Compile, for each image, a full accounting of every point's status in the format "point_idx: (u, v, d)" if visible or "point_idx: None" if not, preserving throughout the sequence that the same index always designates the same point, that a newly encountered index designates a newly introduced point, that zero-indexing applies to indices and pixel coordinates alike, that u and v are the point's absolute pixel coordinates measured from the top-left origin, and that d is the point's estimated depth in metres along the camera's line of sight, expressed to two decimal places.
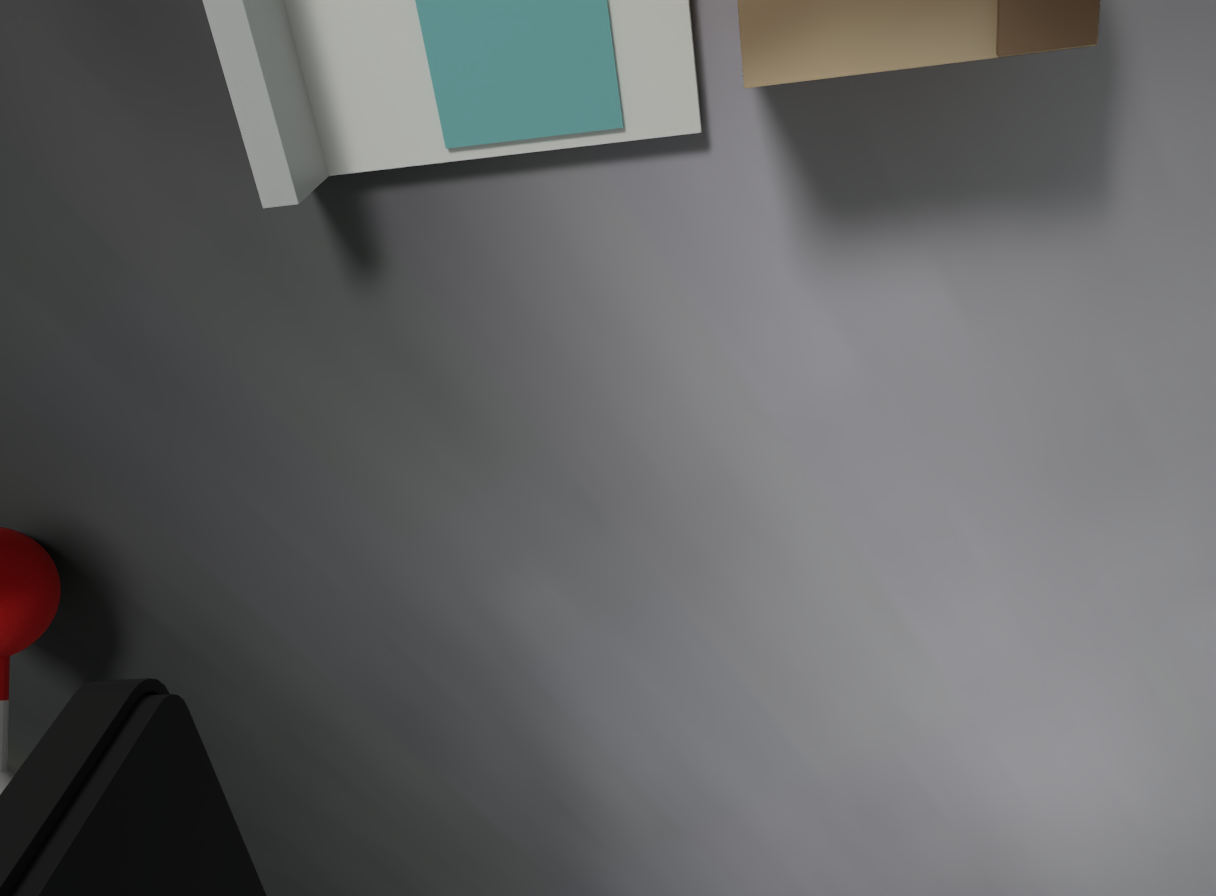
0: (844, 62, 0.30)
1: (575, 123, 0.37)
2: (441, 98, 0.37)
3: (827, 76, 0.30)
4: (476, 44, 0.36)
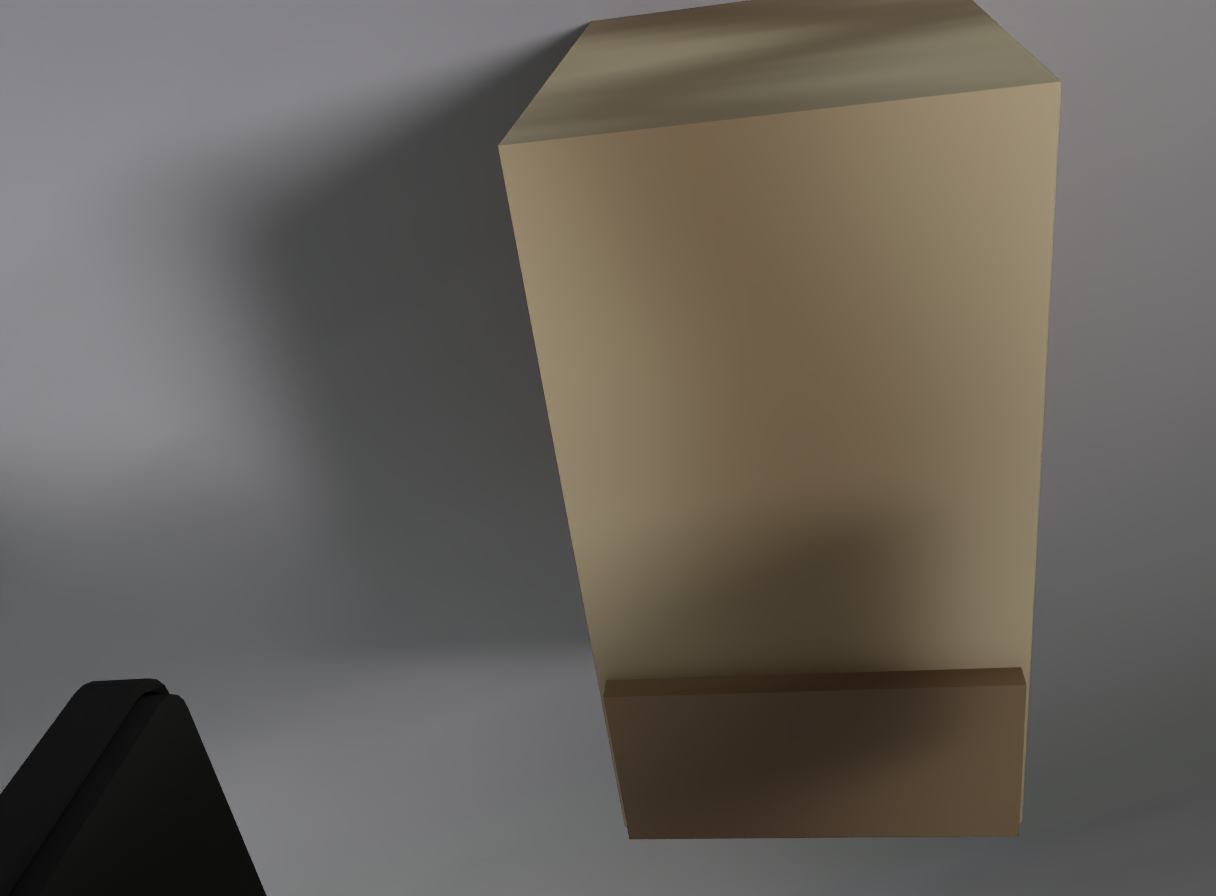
0: (578, 395, 0.12)
1: None
2: None
3: (542, 357, 0.12)
4: None
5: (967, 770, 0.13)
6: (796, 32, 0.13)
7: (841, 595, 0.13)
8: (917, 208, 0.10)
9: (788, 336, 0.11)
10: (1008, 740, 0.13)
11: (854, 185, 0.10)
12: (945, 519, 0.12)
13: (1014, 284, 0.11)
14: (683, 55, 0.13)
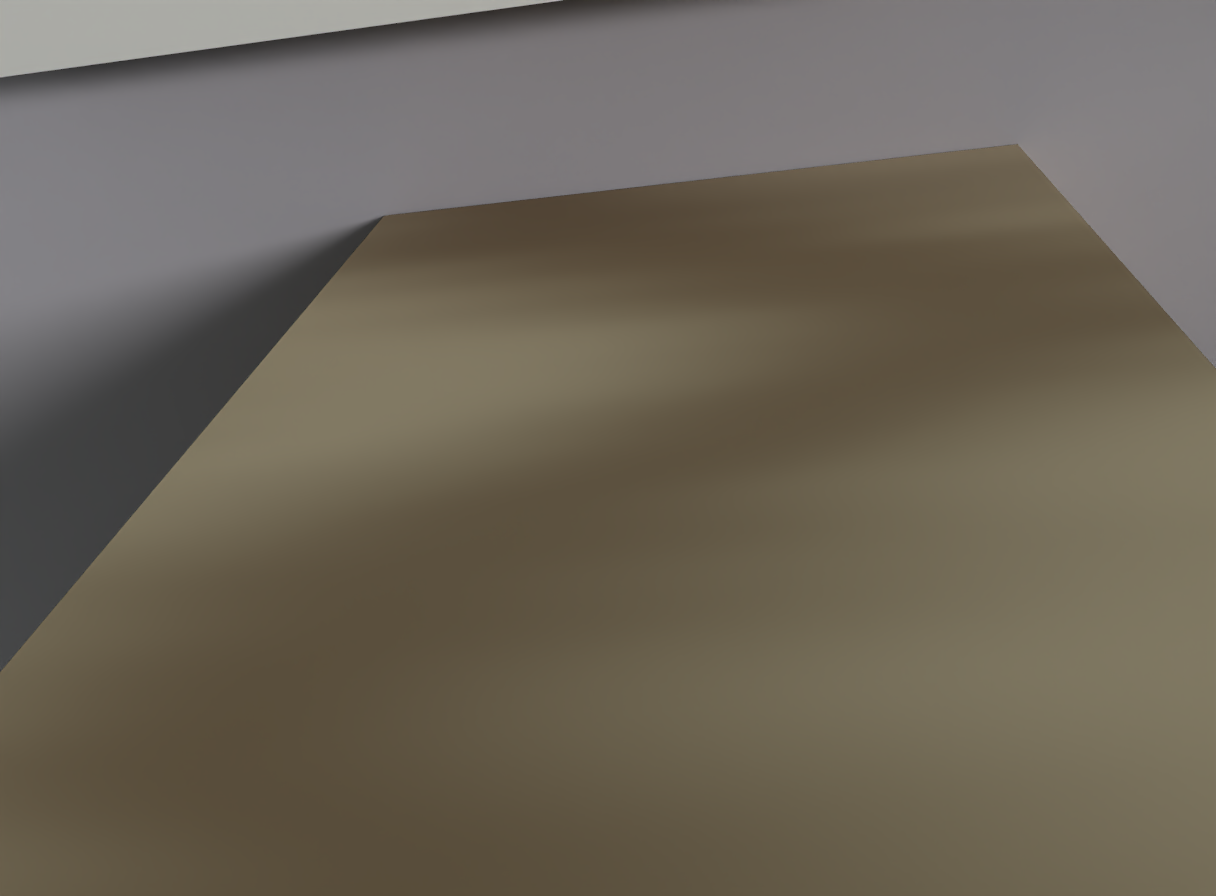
0: None
1: None
2: None
3: None
4: None
5: None
6: (740, 334, 0.06)
7: None
8: None
9: None
10: None
11: None
12: None
13: None
14: (485, 403, 0.06)
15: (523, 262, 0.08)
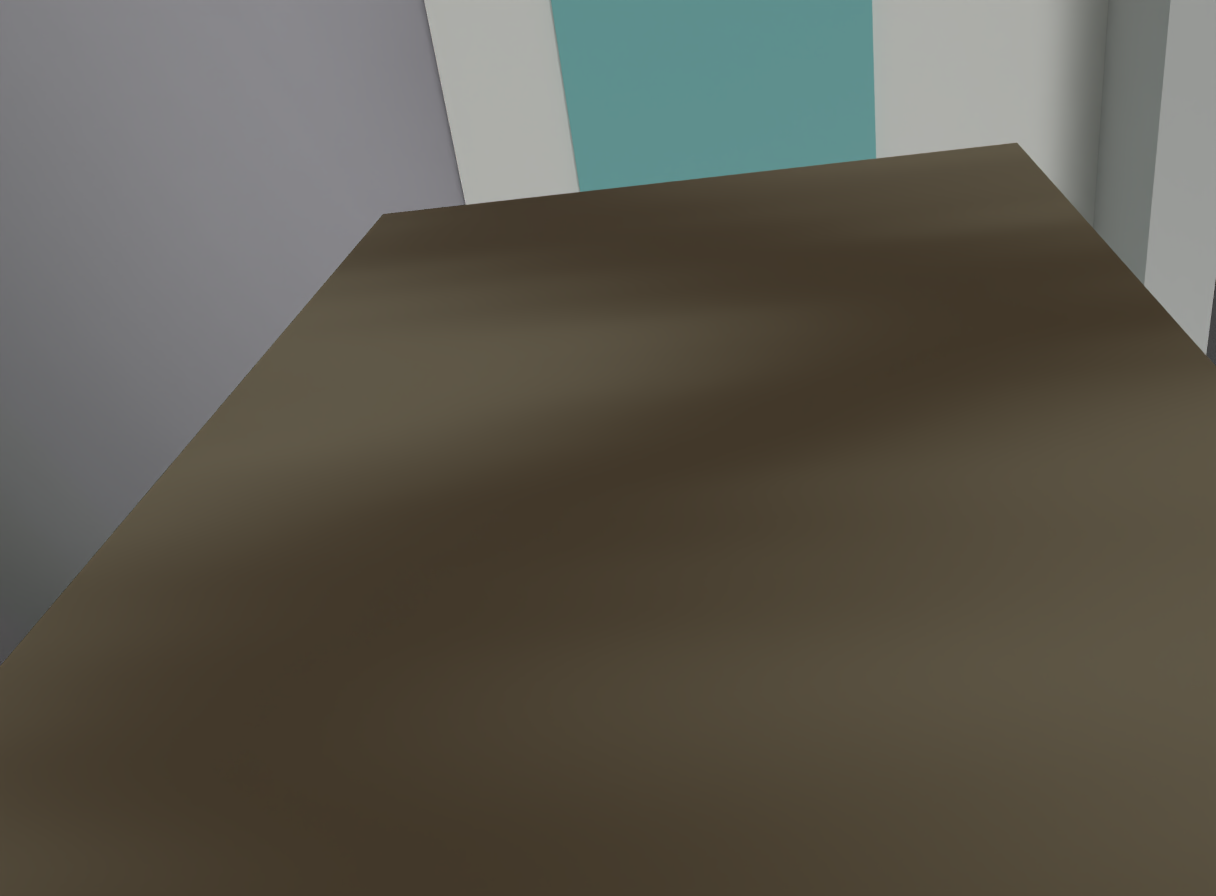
0: None
1: None
2: None
3: None
4: (785, 85, 0.22)
5: None
6: (740, 331, 0.06)
7: None
8: None
9: None
10: None
11: None
12: None
13: None
14: (485, 400, 0.06)
15: (522, 260, 0.08)
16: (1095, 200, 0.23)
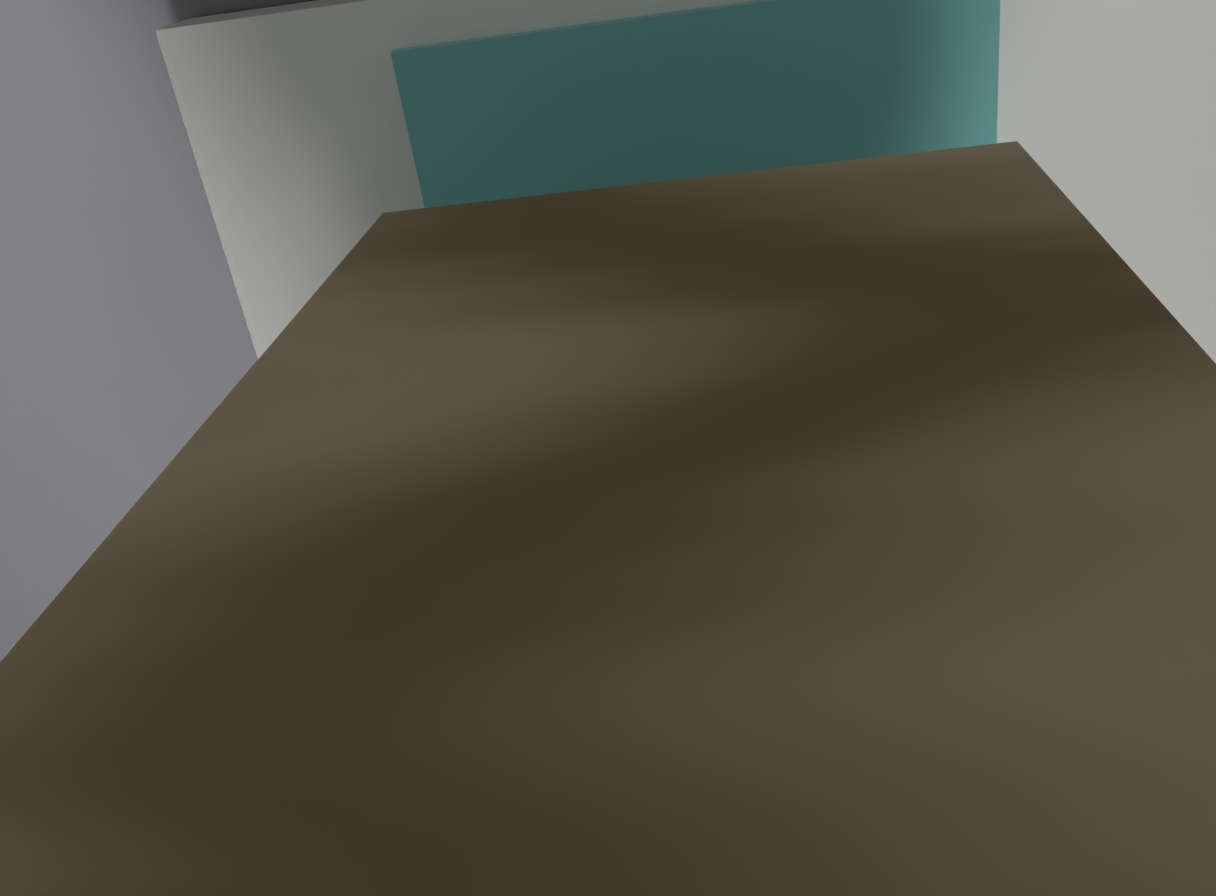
0: None
1: (543, 65, 0.11)
2: (976, 144, 0.11)
3: None
4: None
5: None
6: (739, 329, 0.06)
7: None
8: None
9: None
10: None
11: None
12: None
13: None
14: (484, 399, 0.06)
15: (522, 259, 0.08)
16: None
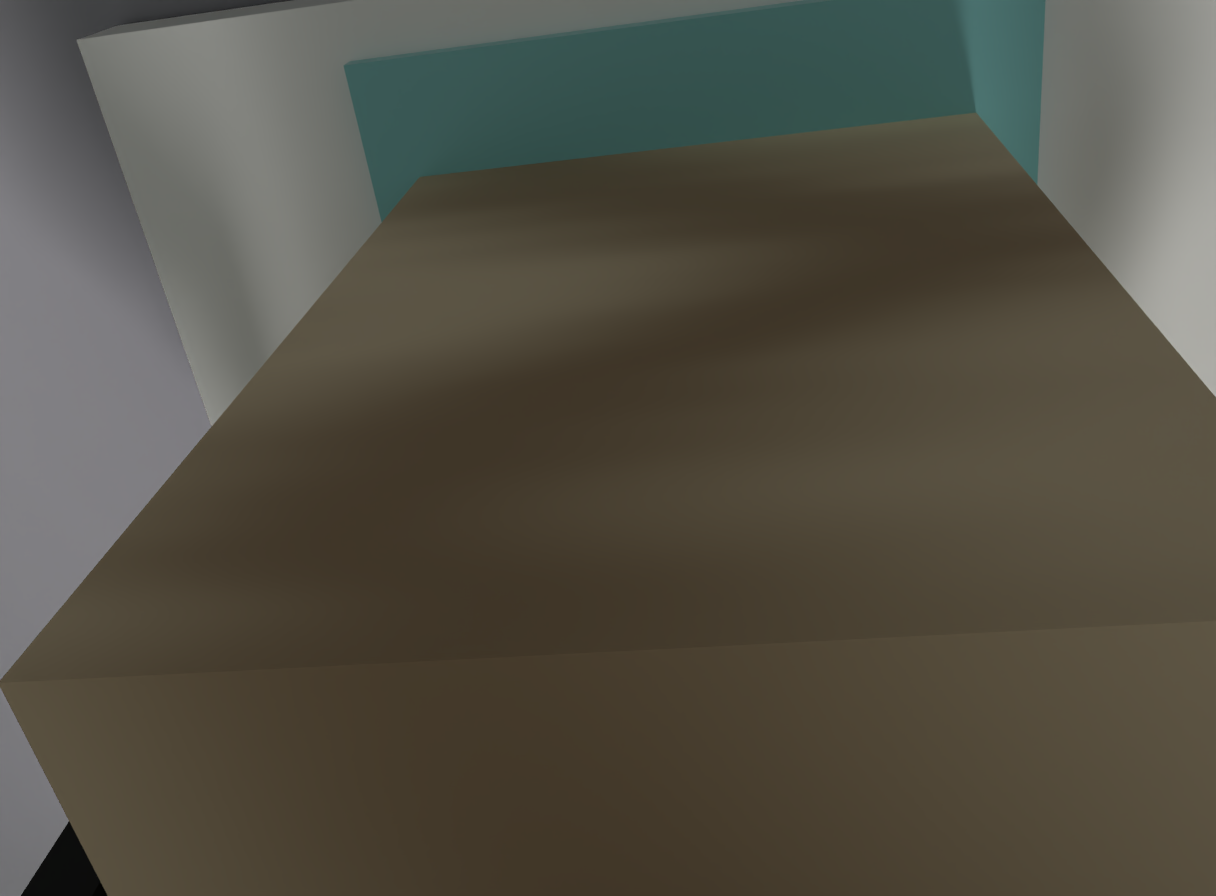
0: None
1: (518, 80, 0.10)
2: None
3: None
4: None
5: None
6: (732, 260, 0.07)
7: None
8: (1000, 835, 0.04)
9: None
10: None
11: (851, 792, 0.04)
12: None
13: None
14: (521, 313, 0.07)
15: (546, 210, 0.09)
16: None
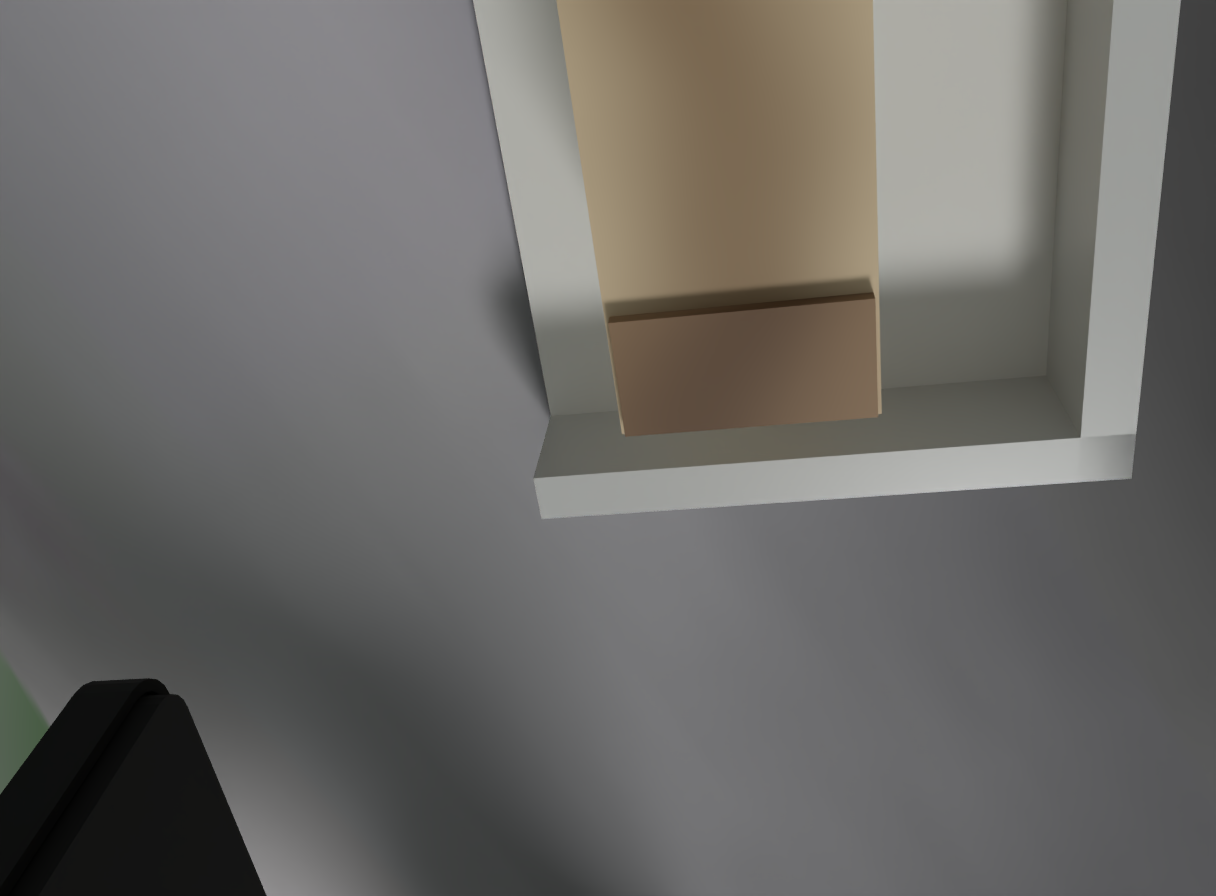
0: (592, 105, 0.19)
1: None
2: None
3: (571, 80, 0.19)
4: None
5: (842, 366, 0.21)
6: None
7: (758, 243, 0.20)
8: None
9: (720, 60, 0.18)
10: (866, 342, 0.20)
11: None
12: (820, 184, 0.19)
13: (852, 21, 0.18)
14: None
15: None
16: (1063, 88, 0.25)
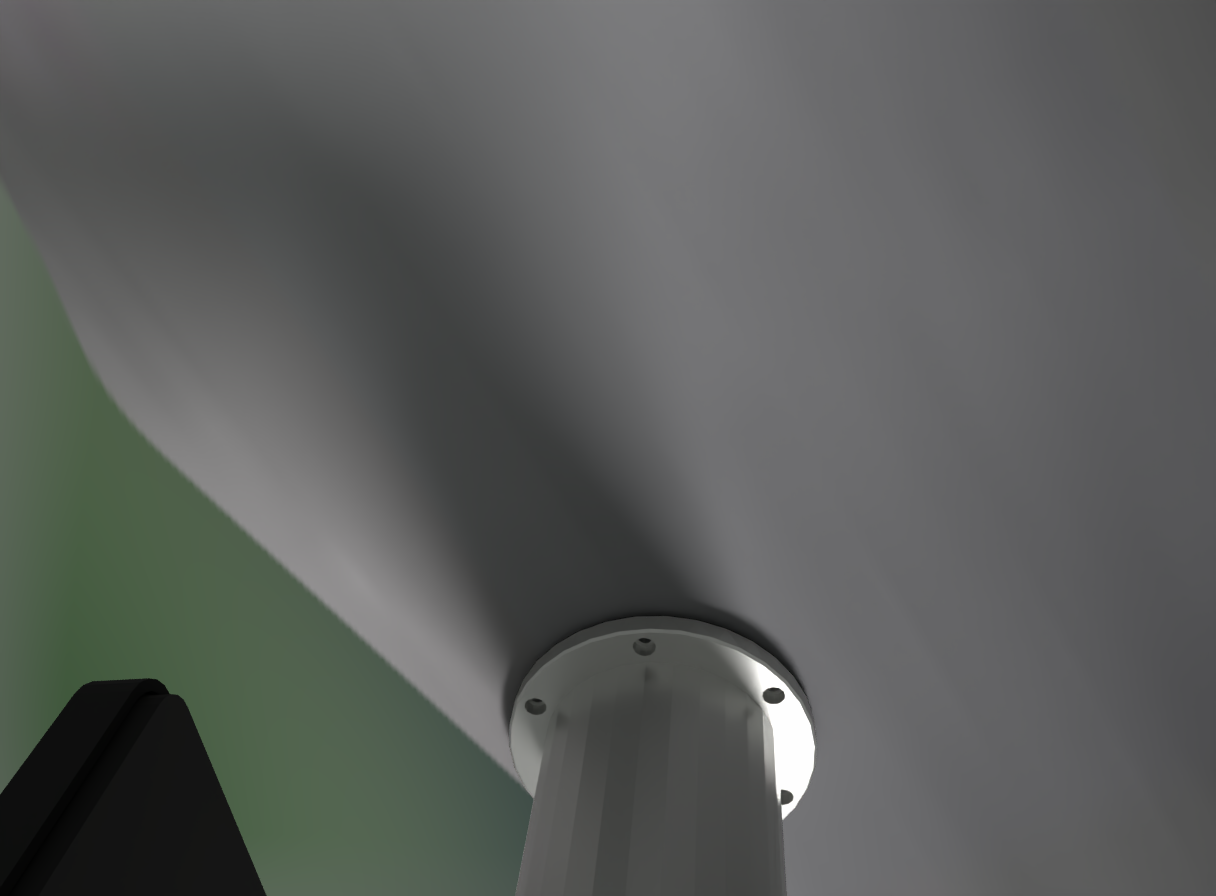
0: None
1: None
2: None
3: None
4: None
5: None
6: None
7: None
8: None
9: None
10: None
11: None
12: None
13: None
14: None
15: None
16: None
